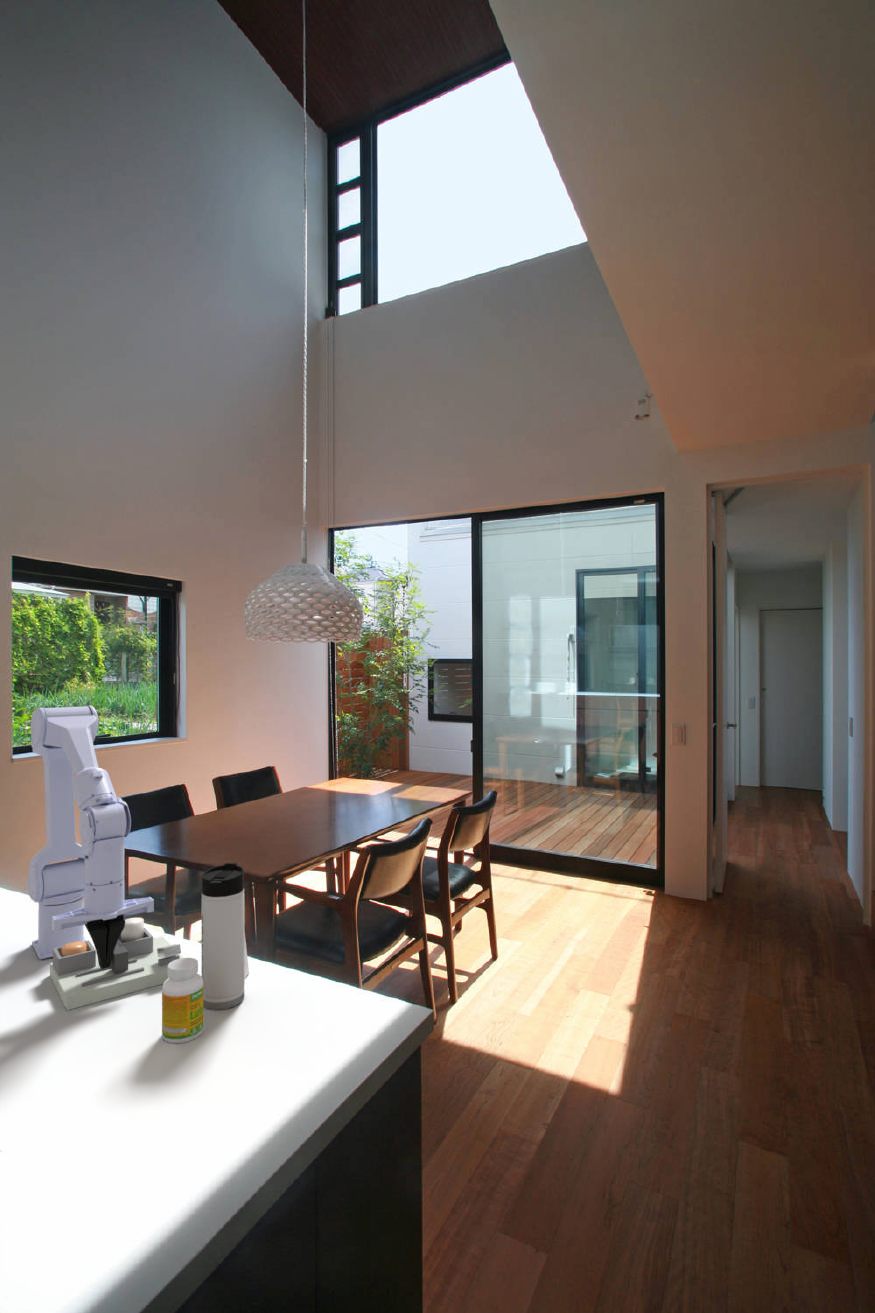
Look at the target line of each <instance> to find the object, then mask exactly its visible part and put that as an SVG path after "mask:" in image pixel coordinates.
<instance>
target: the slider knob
mask: <svg viewBox="0 0 875 1313" xmlns="http://www.w3.org/2000/svg"><path fill="white" fill-rule="evenodd" d="M111 969H112V971H113V972H114V973H115V974H116V973H120V972H124V971H128V951H127V949H126V948H125V947H124V946H122V947H118V948H115V949H114V952H113V956H112V960H111Z"/></svg>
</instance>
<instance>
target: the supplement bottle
mask: <svg viewBox="0 0 875 1313" xmlns="http://www.w3.org/2000/svg"><path fill="white" fill-rule="evenodd" d="M198 972H199V961H198V959H197V958H193V957H183V958H181V959H177V960H174V961H172V962H170V963H169V964H168V968H167V975H168V979H167V980H166V981H165V982H164V983H163V984H162V987H161V995H162V996H161V1006H162V1007H161V1036H162V1039H163V1040H164V1041H165V1042H167V1043H169V1044H181V1043H187V1042H190V1041H193V1040H195V1039H196V1038H198V1037H199V1036H200V1035H201V1034H202V1033H203V1031H204V1006H203V978H202V975H200V974H199V973H198Z"/></svg>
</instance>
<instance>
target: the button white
mask: <svg viewBox="0 0 875 1313" xmlns="http://www.w3.org/2000/svg"><path fill="white" fill-rule="evenodd" d="M124 920H125V927H124V929H123V931H122V933H121V942H123V943H125V942H129V941H133V940H137V939H141V938H144V928H145V925H144V924H145V920H144V918H143V917H129V918H126V919H124Z"/></svg>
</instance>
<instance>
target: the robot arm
mask: <svg viewBox="0 0 875 1313" xmlns="http://www.w3.org/2000/svg"><path fill="white" fill-rule="evenodd" d="M98 731H99V716H98V712H97V709H96V708H95V707H94V706H92V705H91V704H90V705H86V706H65V707H64V706H63V707H61V706H60V707H36V709H35V710H33V712H32V715H31V719H30V742H31V743H30V745H31V748H32V752H33V754H36V755H39V756H41V757H42V758H41V759H42V762H43V770H44V776H43V778H44V798H45V799H44V803H45V832H46V844H45V845H44V847H43V848H42V849H40V850H39V851H38V852H37V853H36V854H34V855H33V856H32V857H31V859H30V860H29V861H30V862H29V865H28V866H29V869H28V871H29V872H28V875H27V889H28V896H29V898H30V899H31V900H32V901H33V902H34V903H38V910H37V912H38V913H37V914H38V915H37V916H38V917H37V919H38V921H37V922H38V923H37V925H38V927H37V928H38V930H37V931H38V932H37V934H38V937H37V938H38V939H34V940H32V941H31V944H32V946H33V948H34V951H35V953H36V955H37V958H38V959H39V960H45V959H48V958H53V948H57V947H61V946H64V945H66V944H68V943H72V942H79V941H82V942H83V941H87V939H86V937H85V936H84V931H85V930H84V928H85V929H86V930H87V932H88V934H89V937H90V938H91V940H92V942H93V947H94V949H95V950H96V952H97V956H98V962H99V966H100V968H101V969H104V968H108V967H110V966H111V960H112V956H113V952H114V949H115V946H116V943H117V941H118V939H119V937H120V935H121V933H122V931H123V929H124V927H125V920H126V919H125V918H124V917H127V916H133V915H137V914H141V913H154V912H155V909H154V908H155V906H154V904H155V902H154V901H155V899H154V898H152V897H151V896H148V897H141V898H133V899H125V838H127V837H128V836H129V835H130V833H131V827H132V817H131V812H130V809H129V805H128V804H127V802H126V801H125V800H123V799H122V798H121V797H118V796H117V793H116V792H115V789H114V787H113V786H114V785H113V783H112V780H111V777H110V774H109V772H108V771H107V770H106V769H104V768H100V767H99V764H98V759H97V755H96V750H95V747H94V742H95V740H96V735H97V733H98ZM74 774H75V776H74ZM75 800H76V804H77V807H78V809H79V813H80V815H79V819H78V820H79V821H78V831H79V836H80V840H81V844H80V843H77V836H76V835H77V834H76V829H77V828H76V810H75V809H76V807H75ZM84 926H85V927H84Z"/></svg>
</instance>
